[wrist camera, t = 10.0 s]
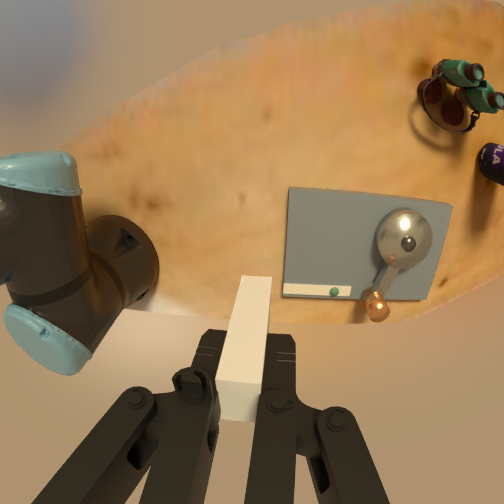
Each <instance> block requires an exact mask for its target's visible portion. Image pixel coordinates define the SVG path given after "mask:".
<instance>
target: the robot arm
mask: <svg viewBox="0 0 504 504" xmlns="http://www.w3.org/2000/svg"><path fill="white" fill-rule="evenodd" d="M81 195H82V189H81V188H80V185H79V178H78V171H77V164H76V161H75V159H74V157H73V156H72V155H71V154H70V153H68V152H65V151H36V152H25V153H17V154H10V155H4V156H0V285H3V284H6V286H7V289H8V291H9V294H10V296H11V299H12V304H10V305H8V306H7V307H6V310H5V312H4V322H5V325H6V327H7V329H8V331H9V333H10V334H11V336H12V337H13V339H14V340H15V341H16V342H17V343H18V345H19V346H20V347H21V348H22V349H23V350H24V351H25V352H26V353H27V354H28V355H29V356H30V357H32V358H33V359H34V360H35V361H37V362H38V363H39V364H41V365H42V366H44V367H45V368H47V369H49V370H51V371H53V372H56V373H58V374H61V375H68V376H70V375H74V374H76V373H78V372H79V371H80V370H81V369H82V368H83V366H84V365H85V364H86V362H87V361H88V360H90V359H91V358H92V355H93V353H94V352H95V350H96V348H97V347H98V345H99V344H100V342H101V341H102V339H103V338H104V336H105V335H106V333H107V332H108V330H109V329H110V327H111V326H112V324H113V323H114V321H115V320H116V318H117V317H118V316H119V314H120V313H121V311H122V310H123V309H124V308H126V307H128V306H130V305H131V304H133V303H135V302H136V301H138V300H140V299H142V298H143V297H145V296H146V295H147V294H148V293H149V291H150V290H151V288H152V287H153V286H154V284H155V282H156V280H157V278H158V273H159V261H158V256H157V253H156V250H155V248H154V246H153V244H152V242H151V240H150V239H149V237H148V236H147V235H146V234H145V232H144V231H143V230H142V229H141V228H140V227H138V226H137V225H136V224H135V223H133V222H132V221H130V220H128V219H126V218H123V217H120V216H116V215H106V216H102V217H99V218H97V219H96V220H94V221H93V222H91V223H90V224H88V225H87V226H86V227H85V222H84V215H83V208H82V200H81ZM271 286H272V277H259V276H242V278H241V281H240V285H239V289H238V293H237V297H236V300H235V304H234V308H233V312H232V316H231V320H230V324H229V328H228V331H224V330H213V329H208V330H207V331H206V333H204V334H203V335H202V337H201V339H200V342H199V345H198V348H197V350H196V354H195V356H194V359H193V362H192V365H191V367H187V368H184V369H181V370H179V371H178V372H176V373H175V374H174V376H173V377H172V381H173V384H174V387H175V391H173V392H169V393H159V394H152V393H151V391H149V390H148V389H147V388H144V387H140V386H139V387H131V388H129V389H127V390H126V391H125V392H123V393H122V394H121V396H120V397H119V398H118V399H117V400H116V402H115V403H114V404H113V405H112V406H111V408H110V409H109V410H108V411H107V413H105V415H104V416H103V417H102V418H101V419H100V421H99V422H98V423H97V424H96V425H95V427H94V428H93V429H92V430H91V431H90V433H89V434H88V435H87V437H86V438H85V439H84V440H83V441H82V442H81V444H80V445H79V446H78V447H77V448H76V450H75V451H74V452H73V453H72V454H71V456H70V457H69V458H68V459H67V461H66V462H65V463H64V464H63V465H62V467H61V468H60V469H59V470H58V471H57V473H56V474H55V475H54V476H53V478H52V479H51V480H50V481H49V483H48V484H47V485H46V486H45V487H44V489H43V490H42V491H41V492H40V494H39V495H38V496H37V497H36V499H35V500H34V501H33V502H32V503H31V504H125V502H126V501H127V499H128V498H129V496H130V495H131V494H132V492H133V491H134V489H135V488H136V486H137V485H138V483H139V482H140V480H141V479H142V477H143V476H144V475H145V473H146V472H147V470H148V469H149V467H150V466H151V468H150V470H149V473H148V476H147V480H146V483H145V486H144V489H143V492H142V495H141V498H140V502H139V504H204V500H205V495H206V490H207V485H208V481H209V476H210V472H211V467H212V462H213V457H214V452H215V448H216V443H217V438H218V433H219V425H218V422H219V418H220V415H221V419H227V420H235V421H244V422H255V430H254V437H253V445H252V452H251V459H250V467H249V473H248V480H247V487H246V494H245V501H244V504H293V503H294V486H295V464H296V454H299V455H302V456H306V460H307V463H308V467H309V471H310V474H311V477H312V481H313V485H314V488H315V492H316V495H317V499H318V502H319V504H390V503H389V500H388V498H387V495H386V493H385V490H384V488H383V485H382V483H381V480H380V478H379V475H378V473H377V470H376V467H375V465H374V462H373V460H372V458H371V455H370V453H369V450H368V448H367V446H366V443H365V441H364V438H363V436H362V433H361V431H360V429H359V426H358V424H357V422H356V419H355V417H354V416H353V414H352V413H351V412H350V411H349V410H347V409H346V408H342V407H339V406H337V407H329V408H327V409H325V410H323V411H322V410H318V409H315V408H312V407H309V406H307V405H305V404H304V403H302V402H301V401H300V400H299V399H298V397H297V395H296V363H295V362H296V355H295V353H296V351H295V350H296V348H295V346H296V345H295V341H294V340H293V338H292V336H291V335H289V334H271V333H269V322H270V305H271Z"/></svg>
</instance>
